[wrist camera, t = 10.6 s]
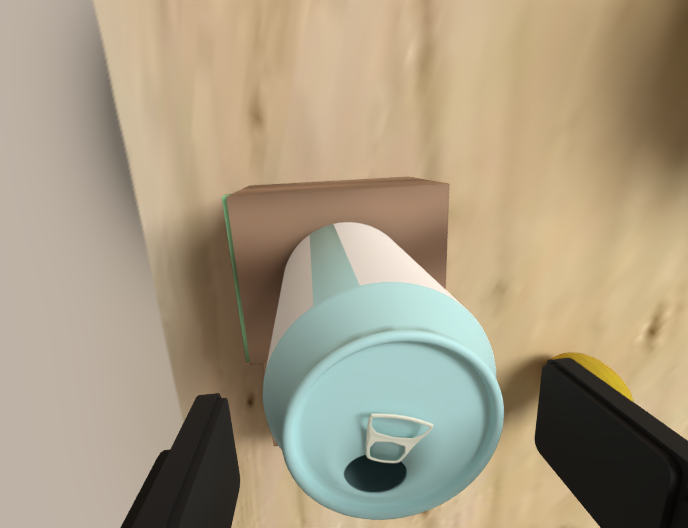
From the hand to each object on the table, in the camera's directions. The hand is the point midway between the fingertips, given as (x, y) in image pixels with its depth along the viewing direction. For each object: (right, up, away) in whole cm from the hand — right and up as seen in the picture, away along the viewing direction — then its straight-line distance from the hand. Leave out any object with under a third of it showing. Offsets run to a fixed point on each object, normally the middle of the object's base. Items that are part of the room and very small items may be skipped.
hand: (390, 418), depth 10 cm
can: (-1, +4, +10) cm, 11 cm away
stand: (-2, +1, +19) cm, 19 cm away
